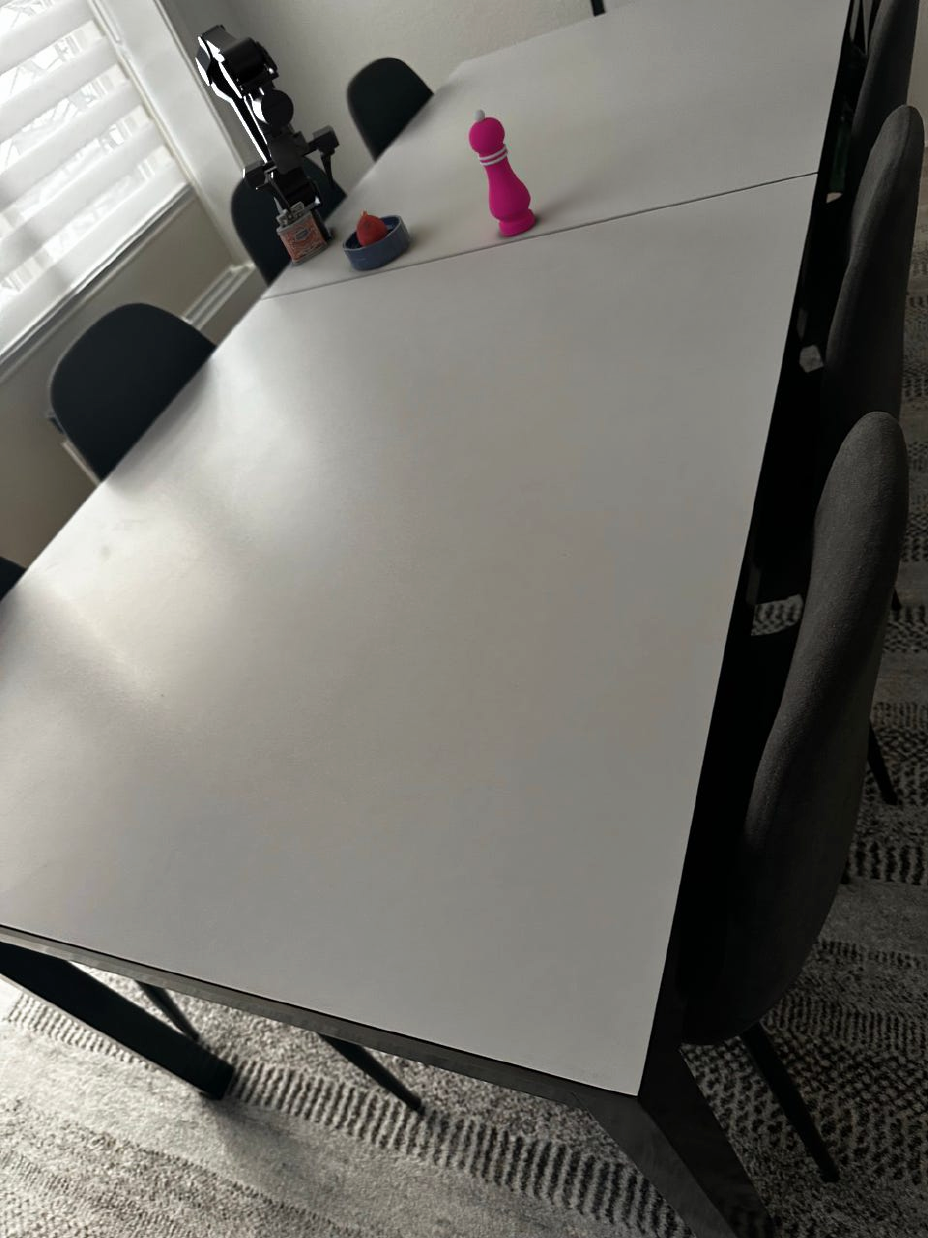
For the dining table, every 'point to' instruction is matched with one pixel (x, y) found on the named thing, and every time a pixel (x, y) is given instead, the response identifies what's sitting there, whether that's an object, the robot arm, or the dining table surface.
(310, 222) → the lighter
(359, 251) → the bowl
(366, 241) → the onion
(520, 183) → the pepper mill
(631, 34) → the dining table surface
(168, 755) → the dining table surface
